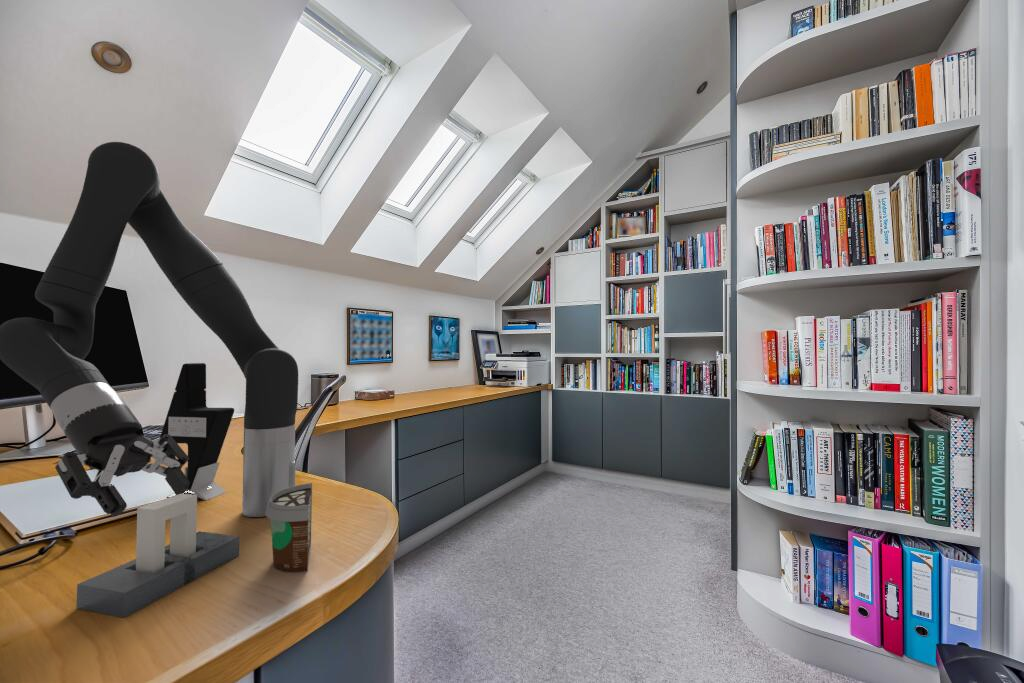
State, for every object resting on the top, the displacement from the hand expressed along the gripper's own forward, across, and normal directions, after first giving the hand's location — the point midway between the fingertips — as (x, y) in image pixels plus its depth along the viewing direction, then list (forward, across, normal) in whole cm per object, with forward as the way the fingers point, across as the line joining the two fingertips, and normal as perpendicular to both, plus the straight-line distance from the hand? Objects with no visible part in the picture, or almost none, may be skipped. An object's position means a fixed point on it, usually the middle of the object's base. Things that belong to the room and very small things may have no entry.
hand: (154, 500), depth 60 cm
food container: (+19, +8, -3) cm, 21 cm away
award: (-12, +29, +27) cm, 41 cm away
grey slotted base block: (+10, 0, +6) cm, 11 cm away
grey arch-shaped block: (+10, 0, +6) cm, 11 cm away
